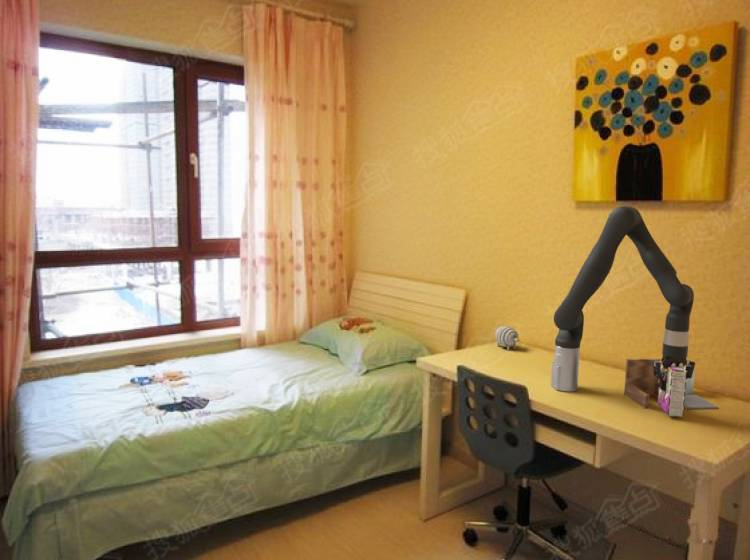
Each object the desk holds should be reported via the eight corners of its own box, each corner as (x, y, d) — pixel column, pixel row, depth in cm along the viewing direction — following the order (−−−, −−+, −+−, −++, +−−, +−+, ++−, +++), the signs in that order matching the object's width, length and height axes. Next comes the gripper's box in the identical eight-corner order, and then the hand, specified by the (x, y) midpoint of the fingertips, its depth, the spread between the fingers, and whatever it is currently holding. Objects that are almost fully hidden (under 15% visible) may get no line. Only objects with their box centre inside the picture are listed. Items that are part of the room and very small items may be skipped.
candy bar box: (656, 404, 185) (660, 359, 183) (671, 405, 184) (675, 360, 182) (667, 416, 174) (671, 369, 172) (683, 417, 173) (688, 370, 171)
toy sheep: (502, 342, 271) (502, 322, 269) (526, 350, 257) (527, 328, 255) (487, 345, 266) (488, 324, 264) (511, 353, 251) (512, 331, 250)
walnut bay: (644, 408, 183) (647, 370, 181) (624, 394, 197) (626, 358, 195) (678, 408, 184) (682, 370, 182) (655, 393, 198) (658, 358, 196)
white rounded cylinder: (679, 395, 196) (681, 372, 195) (668, 388, 203) (670, 366, 202) (697, 394, 197) (699, 372, 195) (685, 388, 204) (687, 366, 202)
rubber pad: (685, 409, 183) (685, 407, 183) (665, 396, 195) (665, 395, 194) (718, 408, 183) (718, 407, 183) (696, 396, 195) (696, 394, 195)
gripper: (661, 345, 171) (657, 394, 174) (703, 345, 172) (698, 393, 175) (648, 340, 179) (645, 386, 181) (688, 339, 180) (684, 385, 182)
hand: (671, 389), depth 178 cm, fingers closed on candy bar box, 5 cm apart
